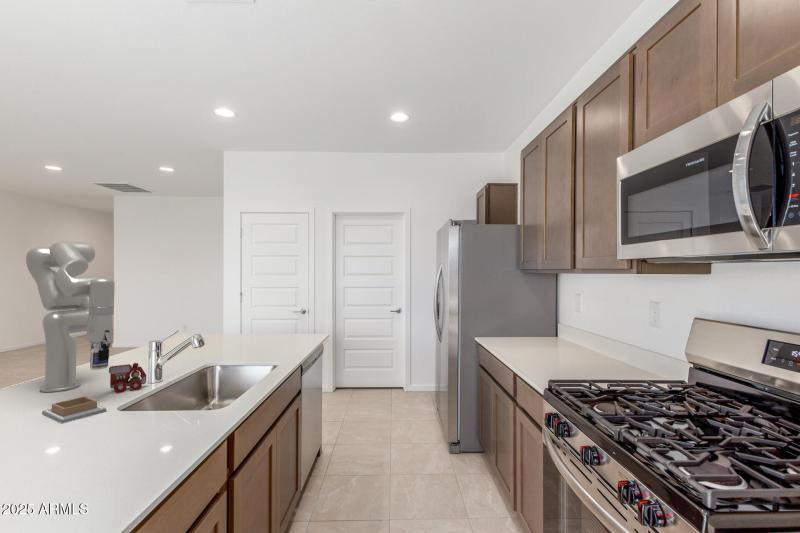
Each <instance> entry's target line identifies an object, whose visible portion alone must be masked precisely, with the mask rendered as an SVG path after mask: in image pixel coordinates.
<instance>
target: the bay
mask: <svg viewBox="0 0 800 533" xmlns="http://www.w3.org/2000/svg"><path fill="white" fill-rule="evenodd" d="M105 412H106V413H107V408H106V407H104V406H102V405H101V406H100V405H98V400H96V399H94V398H91V397H88V396H87V395H86V396H81V397H77V398H71V399H66V400H63V401H58V402H55V403H52V404H51V408H48V409H44V410H42V411H41V414H42V415H44V416H46V417H48V418H49V419H51V420H54V421H56V422H57V423H60V422H61V424H65V423H69V422H72V420H73V421H76V419H77V420H80V419H85V418H86V417H87V418H88V417H90V416H94V415H98V414H101V413H105ZM68 421H69V422H68ZM64 422H65V423H64Z"/></svg>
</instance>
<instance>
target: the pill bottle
mask: <svg viewBox="0 0 800 533" xmlns="http://www.w3.org/2000/svg"><path fill="white" fill-rule="evenodd" d="M103 341H104V340H102V341H101V342H103ZM103 344H105V343H103ZM103 344H102V346H103ZM93 347H94V348H93V349H91V348H90V360H89V361H90V364H89V368H90V370H94V371H95V370H96V371H97V370H104V369H107V368H109V359H108V360H104V361H98V350H100V347H99V343H95V342H94V343H93Z"/></svg>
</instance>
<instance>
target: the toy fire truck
mask: <svg viewBox="0 0 800 533" xmlns="http://www.w3.org/2000/svg"><path fill="white" fill-rule="evenodd" d="M108 373H109V376H110V377H109V378H110V379H109V387H110V388H111V390H112V389H113V391H114V392H115V393H118V394H121V393H123V392H125V391H127V390H126V389H127V387H129V388H130V390H131V391H138V390H139V389H141V388H142V386H143V385H146V383H147V374H146V372H145V370H144V369H143V367H142V366H140V365H139V363H137V362H134V363H133V364H132V365H131V364H120V365H119V364H118V365H111V366H110V367H108Z"/></svg>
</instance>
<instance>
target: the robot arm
mask: <svg viewBox="0 0 800 533" xmlns="http://www.w3.org/2000/svg"><path fill="white" fill-rule="evenodd" d="M95 257H96V251H95V248H94V247H93V246H92V245H91V244H90V243H88V242H77V241H58V242H54V243H53V244H51V245H50V247H49V246H47V247H45V246H43V247H42V246H41V247H34V248H32V249H29V250H28V252H27V253H26V258H25V262H26V263H25V264H26V268H27V270H28V272H29V274H30V275H31V277H32V279H33V280H34V282H35V283H36V287H37V290H38V294H39V298H40V301H41V304H42V307H43V308H44V309H45V310H47V311H52V312H48V313H46V315H44V317H43V318H42V328H43V332H44V341H45V360H44V361H45V362H44V363H45V368H44V369H45V370H44V371H45V373H44V374H45V378H44V385H42V386H41V387H40V388H39V392H41V393H55V392H62V391H69V390H72V389H75V388H78V387H80V386H81V384H82V383H81V381H79V380H77V342H76V341H75V338H73V337H72V336H71V335H70V334H74V333H81V332H86V340H87V341H88V342H90V350H91V349H93V348H94V347H93V343H94V342H95V343H99V347H100V350H98V361H104V360H108V361H109V359H110V348H111V344H112V340H113V336H114V335H113V332H114V330H113V328H114V326H113V324H114V323H113V316H114V315H115V313H114V312H115V309H114V308H115V289H116V288H115V287H116V286H115V284H116V283H115V280H114V279H112V278H106V277H103V276H102V277H101V276H81V275H82V274H84V273H85V272H87V270H88V269H89V264H90V263H91V262H92V261H94V259H95ZM52 268H58V270H57V272H56V270H53V269H52ZM101 341H103V342H101ZM103 343H105V344H103ZM102 344H103V346H102Z"/></svg>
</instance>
